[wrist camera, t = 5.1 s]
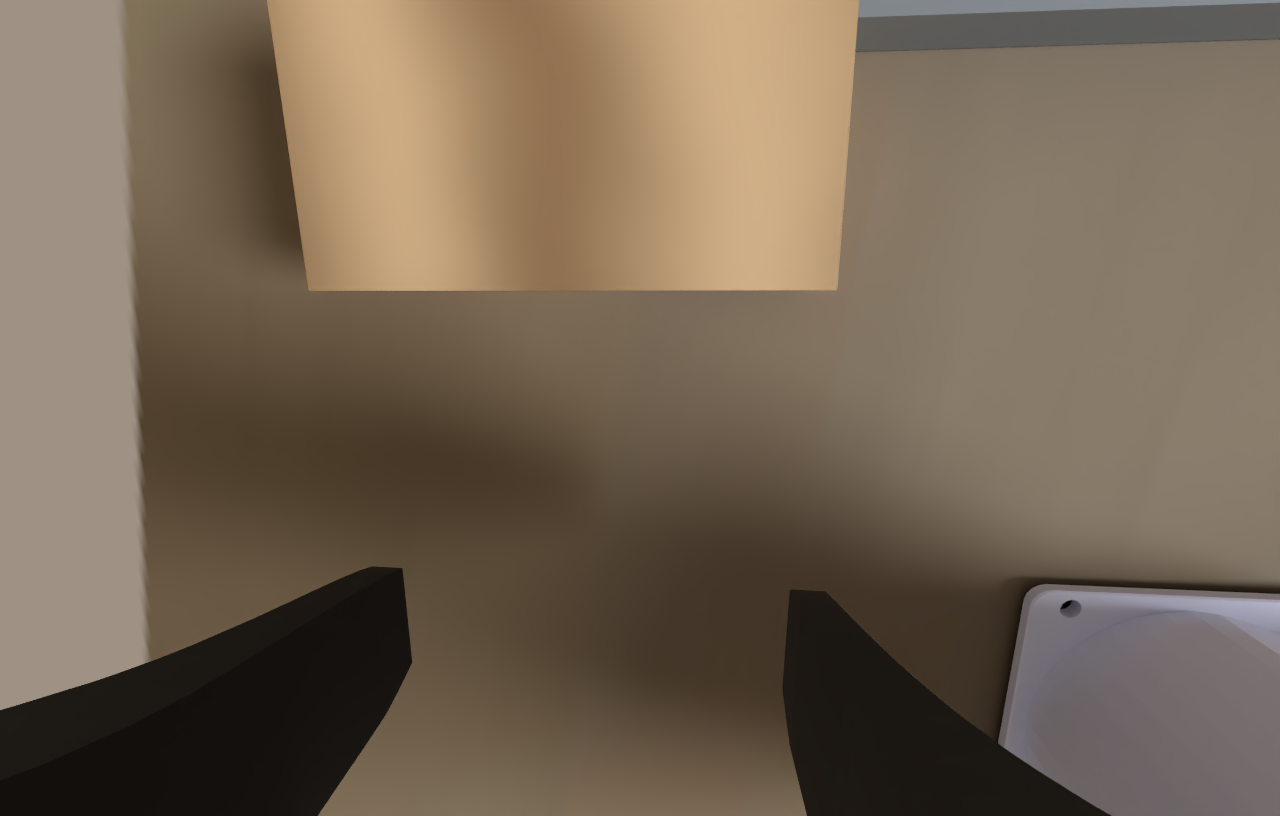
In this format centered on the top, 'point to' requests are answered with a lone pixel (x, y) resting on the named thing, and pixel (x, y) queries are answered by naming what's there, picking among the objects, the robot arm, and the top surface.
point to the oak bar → (567, 142)
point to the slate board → (1058, 22)
